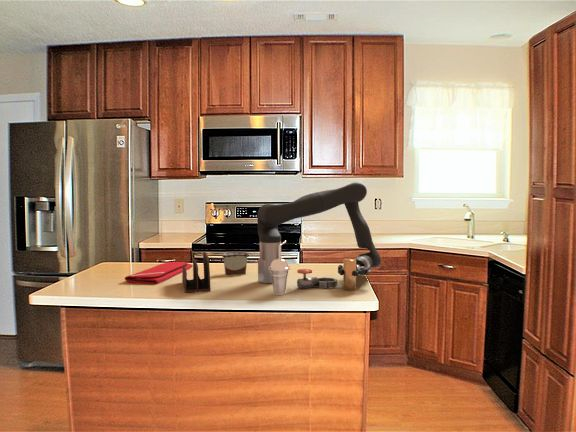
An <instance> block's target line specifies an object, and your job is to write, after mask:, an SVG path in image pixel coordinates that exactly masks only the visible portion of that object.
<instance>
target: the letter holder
mask: <svg viewBox="0 0 576 432" xmlns="http://www.w3.org/2000/svg"><path fill="white" fill-rule="evenodd" d="M202 264H203V265H202V266H203V278H200V275H199V266H198V263H197V260H196V258H192V273H193V274H192V279H188V278H187V276H188V272H187V270H186V268H185V266H184V265H183V269H182V273H181V274H182V276H181V278H182V279H181V282H182V286H183V290H184V293H186V294H189V293H190V294H191V293H193V294H195V293H209V292H212V291H211V270H210V269H211V268H210V258H209V256H208V254H207V252H206V251H203V252H202Z"/></svg>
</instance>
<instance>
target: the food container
mask: <svg viewBox="0 0 576 432" xmlns="http://www.w3.org/2000/svg"><path fill="white" fill-rule="evenodd" d="M248 258H249V253H248V252H246V251H226V252H223V254H222V260H223V264H224V273H225V276H226V275H228V276H240V275H241V276H242V275H243V274H244V275H246V273H247V265H248Z"/></svg>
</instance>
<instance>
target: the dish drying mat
mask: <svg viewBox="0 0 576 432" xmlns="http://www.w3.org/2000/svg"><path fill="white" fill-rule="evenodd" d="M183 265H184V266H185V268H186V271H187V269H188V270H189V269H191V268H193V263H188V262H186V261H169V262H163V263H160V264H157V265H155V266H152V267H150V268H147V269H143V270H142V271H139V272H136V273H133V274H130V275H127V276H125V277H124V280H125V281H126V282H128V283H131V284H135V285H136V284H137V285H159V284H162V283H163V282H166V281H168V280H170V279H172V278H174V277H176V276H178V275H179V274H182V269H183Z"/></svg>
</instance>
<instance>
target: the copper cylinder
mask: <svg viewBox="0 0 576 432" xmlns="http://www.w3.org/2000/svg"><path fill="white" fill-rule="evenodd" d="M342 260H343V263H342V264H343V265H342V266H343V275H342V280H343V282H342V288H343V290H344V291H346V292H347V291H348V292H353V291H357V287H356V286H357V277H356V276H354V271H355V270H356V259H355V258H344V259H342Z"/></svg>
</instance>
